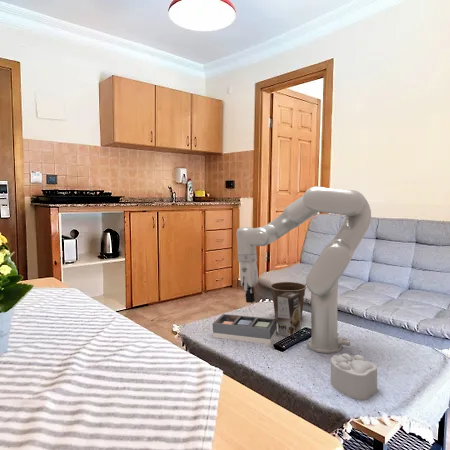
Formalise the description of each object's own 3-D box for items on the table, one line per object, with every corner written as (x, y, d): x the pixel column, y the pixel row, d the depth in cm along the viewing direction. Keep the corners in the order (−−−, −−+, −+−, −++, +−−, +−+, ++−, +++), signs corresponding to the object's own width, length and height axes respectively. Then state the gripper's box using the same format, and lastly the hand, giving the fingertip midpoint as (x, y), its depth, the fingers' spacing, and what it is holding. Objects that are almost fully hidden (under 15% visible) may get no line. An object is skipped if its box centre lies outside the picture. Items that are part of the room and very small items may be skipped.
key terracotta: (235, 327, 150) (235, 322, 150) (231, 332, 145) (231, 326, 145) (224, 326, 152) (224, 321, 151) (220, 330, 147) (220, 325, 147)
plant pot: (288, 311, 173) (288, 279, 171) (314, 321, 159) (313, 286, 158) (263, 319, 163) (262, 285, 162) (288, 329, 150) (287, 292, 149)
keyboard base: (276, 332, 147) (276, 328, 147) (270, 344, 136) (270, 339, 136) (223, 326, 156) (223, 322, 156) (213, 337, 145) (212, 332, 144)
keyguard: (276, 328, 147) (276, 319, 147) (270, 339, 136) (269, 329, 136) (223, 322, 156) (223, 313, 155) (212, 332, 144) (212, 323, 144)
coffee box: (291, 337, 142) (291, 298, 140) (277, 334, 146) (276, 296, 144) (301, 330, 149) (300, 293, 148) (287, 327, 153) (287, 291, 151)
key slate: (252, 326, 147) (252, 320, 147) (249, 330, 142) (248, 325, 142) (241, 325, 149) (241, 319, 149) (237, 329, 144) (237, 323, 144)
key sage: (270, 328, 144) (269, 322, 144) (267, 332, 140) (267, 327, 140) (258, 327, 146) (258, 321, 146) (255, 331, 141) (254, 325, 141)
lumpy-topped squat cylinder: (360, 402, 97) (360, 372, 96) (322, 383, 107) (322, 356, 106) (381, 389, 103) (381, 361, 102) (343, 372, 113) (343, 346, 112)
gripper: (251, 261, 134) (254, 308, 135) (261, 254, 148) (263, 297, 149) (232, 261, 137) (235, 307, 138) (244, 254, 151) (247, 296, 152)
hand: (250, 301), depth 144 cm, fingers closed
